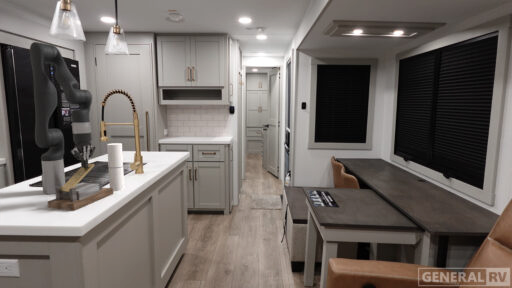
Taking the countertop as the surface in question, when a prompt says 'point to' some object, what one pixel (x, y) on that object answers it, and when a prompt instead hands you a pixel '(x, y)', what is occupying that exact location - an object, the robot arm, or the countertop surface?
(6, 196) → the countertop surface
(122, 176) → the cylindrical container
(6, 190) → the countertop surface
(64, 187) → the plate
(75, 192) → the stand
